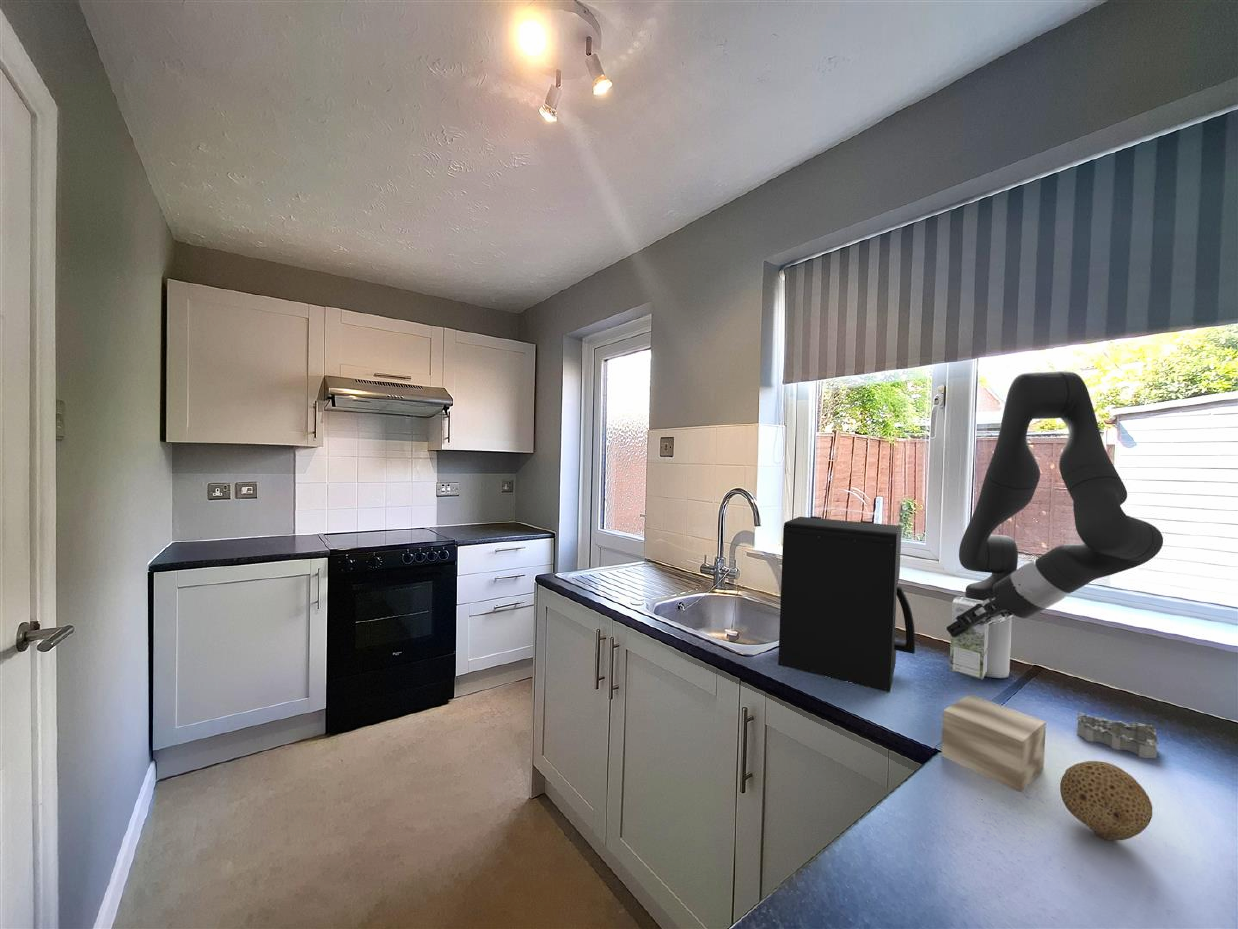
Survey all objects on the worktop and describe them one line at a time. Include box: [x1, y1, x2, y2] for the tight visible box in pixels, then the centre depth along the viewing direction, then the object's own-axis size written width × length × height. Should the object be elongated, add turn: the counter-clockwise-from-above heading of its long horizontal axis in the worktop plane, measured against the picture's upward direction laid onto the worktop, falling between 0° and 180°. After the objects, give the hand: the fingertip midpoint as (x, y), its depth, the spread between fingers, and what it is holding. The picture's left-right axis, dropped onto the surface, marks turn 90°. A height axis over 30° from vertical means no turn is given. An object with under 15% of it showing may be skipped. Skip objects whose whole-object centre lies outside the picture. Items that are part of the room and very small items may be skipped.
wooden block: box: [941, 694, 1047, 793], centre depth 84 cm, size 11×11×8 cm
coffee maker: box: [777, 515, 916, 694], centre depth 121 cm, size 28×20×35 cm
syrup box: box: [949, 595, 989, 680], centre depth 101 cm, size 6×6×14 cm
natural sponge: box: [1059, 760, 1153, 842], centre depth 68 cm, size 9×9×10 cm
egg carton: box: [1076, 711, 1159, 760], centre depth 92 cm, size 11×8×4 cm
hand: (961, 630), depth 102 cm, fingers closed on syrup box, 7 cm apart
